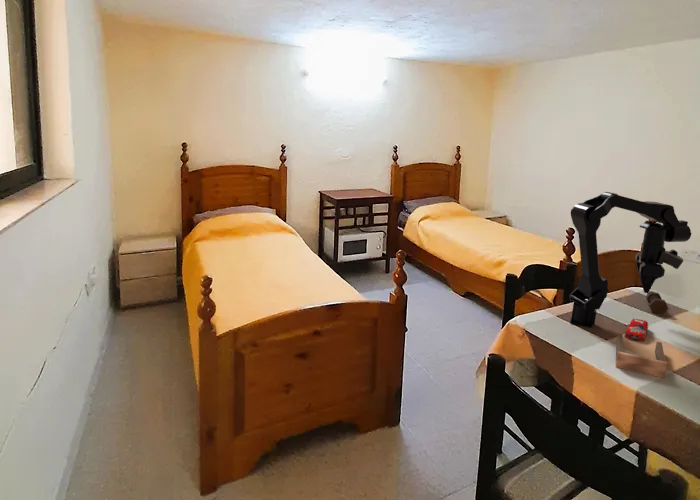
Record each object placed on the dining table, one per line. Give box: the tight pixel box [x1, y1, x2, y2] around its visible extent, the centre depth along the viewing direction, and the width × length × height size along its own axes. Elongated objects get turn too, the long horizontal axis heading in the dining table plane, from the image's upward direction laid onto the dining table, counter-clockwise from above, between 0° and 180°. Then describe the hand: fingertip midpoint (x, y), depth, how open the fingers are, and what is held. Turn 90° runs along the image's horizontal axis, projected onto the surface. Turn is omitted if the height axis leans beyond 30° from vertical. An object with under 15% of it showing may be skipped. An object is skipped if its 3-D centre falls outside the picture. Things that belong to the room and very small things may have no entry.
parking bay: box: [615, 333, 668, 379], centre depth 127 cm, size 11×16×4 cm
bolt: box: [645, 290, 669, 315], centre depth 166 cm, size 6×5×15 cm
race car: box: [624, 318, 649, 342], centre depth 143 cm, size 13×5×4 cm, turn 141°
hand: (644, 288), depth 151 cm, fingers open, 9 cm apart
